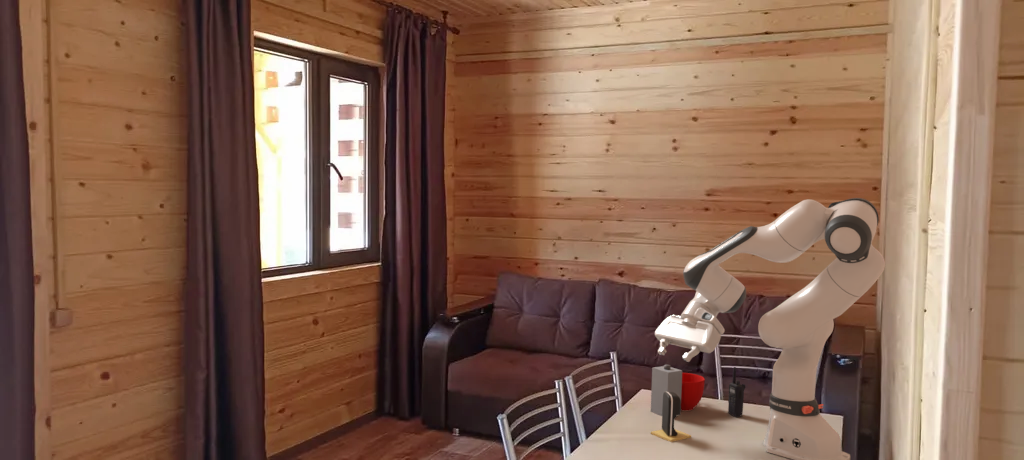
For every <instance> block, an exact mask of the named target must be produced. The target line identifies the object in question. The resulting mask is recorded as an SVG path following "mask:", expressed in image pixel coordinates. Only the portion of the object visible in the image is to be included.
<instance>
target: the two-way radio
mask: <svg viewBox="0 0 1024 460" xmlns="http://www.w3.org/2000/svg"><path fill="white" fill-rule="evenodd" d="M745 389H746V384H744V383H741V382H740V380H738V379H737V367H736V366H734V367H733V371H732V382H730V383H729V385H728V408H727V409H728V411H727V413H728V414H730V415H731V416H733V417H735V418H739V417H742V416H743V413H744V412H743V410H744V398H745V396H744V395H745V393H744V392H745Z"/></svg>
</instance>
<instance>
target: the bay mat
mask: <svg viewBox="0 0 1024 460" xmlns="http://www.w3.org/2000/svg"><path fill="white" fill-rule="evenodd" d="M674 429H675V428H674ZM675 431H676V432H677V435H676V436H668V435H667V434H666V433H665V432H664V431H663V429H662V428H661V429H658V430H653V431H650V435H652V436H655V437H657V438H660V439H662V440H665V441H668V442H670V443H672V442H677V441H682V440H686V439H692V435H691V434H688V433H686V432H683V431H682V430H678V429H675Z"/></svg>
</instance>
